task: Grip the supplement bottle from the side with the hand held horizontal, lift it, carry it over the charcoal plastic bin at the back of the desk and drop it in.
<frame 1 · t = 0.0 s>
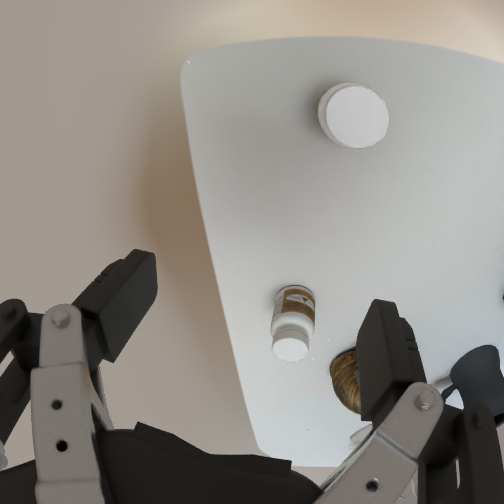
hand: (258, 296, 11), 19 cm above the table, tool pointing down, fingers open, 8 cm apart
ornament: (411, 427, 44), on the table
supplement bottle: (343, 111, 23), on the table
pill bottle: (295, 299, 34), on the table
mug: (466, 367, 35), on the table
seashell: (368, 359, 36), on the table
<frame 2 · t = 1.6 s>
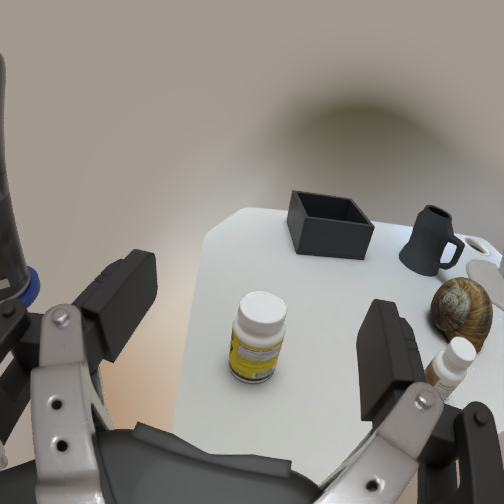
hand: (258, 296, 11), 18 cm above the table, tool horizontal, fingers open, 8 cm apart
ornament: (489, 283, 50), on the table
supplement bottle: (251, 366, 29), on the table
bin: (323, 239, 55), on the table
pill bottle: (426, 394, 27), on the table
mug: (423, 267, 51), on the table
seashell: (452, 331, 36), on the table
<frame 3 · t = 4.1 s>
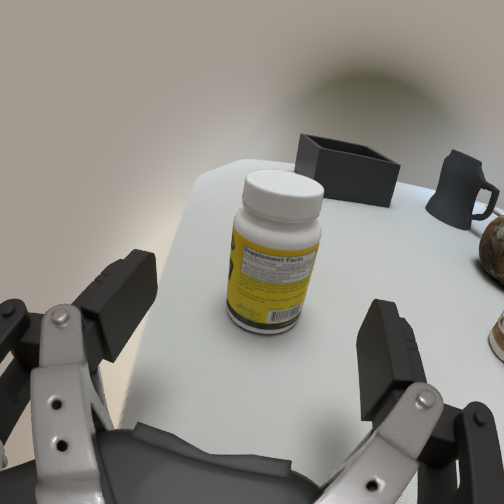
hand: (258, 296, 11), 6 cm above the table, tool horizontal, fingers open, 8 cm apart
supplement bottle: (262, 311, 19), on the table
bin: (338, 187, 45), on the table
mug: (454, 222, 42), on the table
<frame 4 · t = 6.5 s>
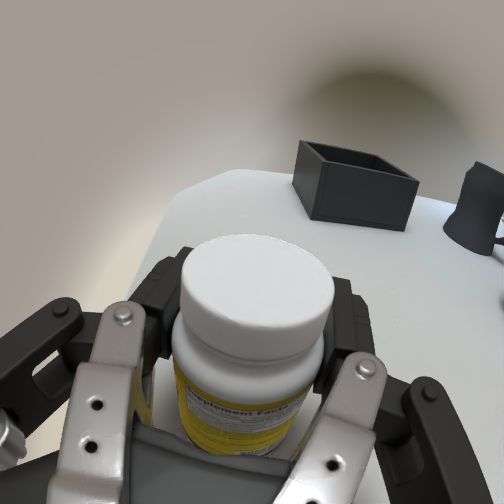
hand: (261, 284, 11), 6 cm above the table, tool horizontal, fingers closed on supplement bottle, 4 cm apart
supplement bottle: (233, 422, 12), on the table, touching gripper
bin: (344, 204, 38), on the table
mug: (474, 245, 35), on the table
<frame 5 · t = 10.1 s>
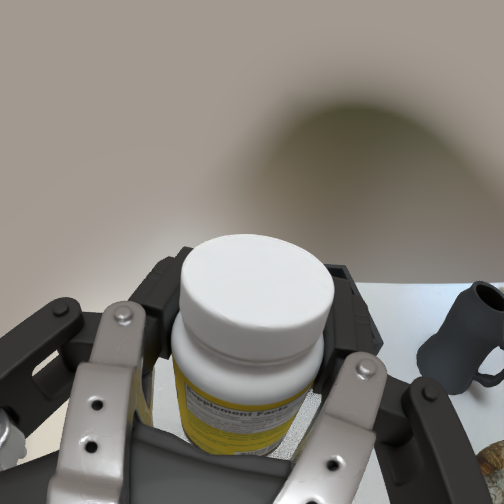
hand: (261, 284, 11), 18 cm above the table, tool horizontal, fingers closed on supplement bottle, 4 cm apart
supplement bottle: (233, 423, 12), point 11 cm above the table, touching gripper
bin: (292, 342, 32), on the table
mug: (451, 374, 28), on the table
when the fingers open (13 cm above the table, at t = 14.1 s): supplement bottle drops 5 cm, resting on bin.
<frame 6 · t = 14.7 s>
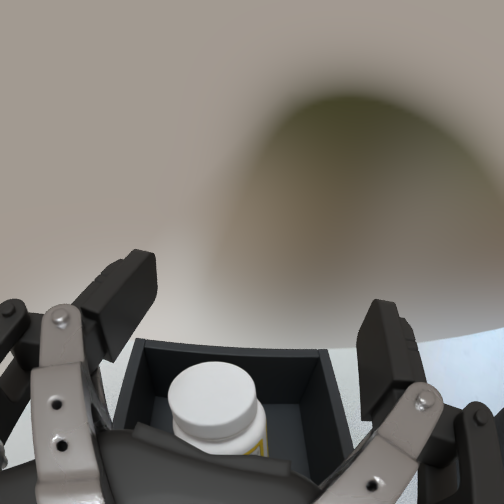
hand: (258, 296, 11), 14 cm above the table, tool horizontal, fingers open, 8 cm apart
supplement bottle: (232, 469, 15), point 1 cm above the table, touching bin
bin: (226, 470, 16), on the table
mug: (475, 491, 12), on the table
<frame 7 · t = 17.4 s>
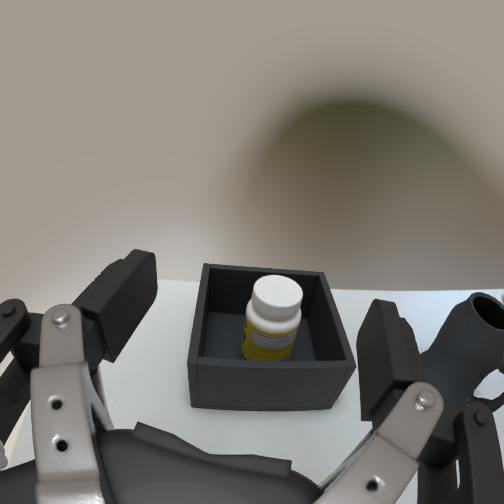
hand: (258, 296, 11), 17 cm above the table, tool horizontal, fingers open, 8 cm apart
supplement bottle: (264, 356, 28), resting on bin
bin: (260, 357, 29), on the table
mug: (443, 396, 25), on the table
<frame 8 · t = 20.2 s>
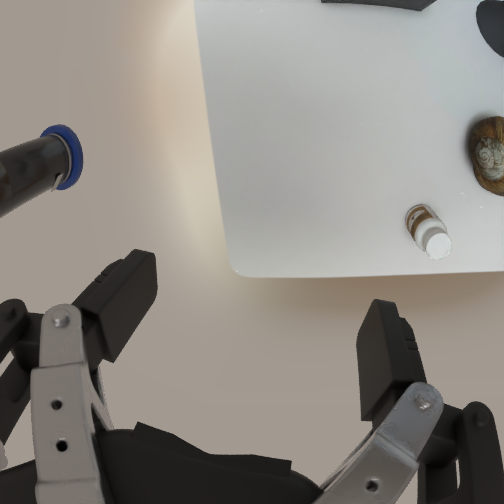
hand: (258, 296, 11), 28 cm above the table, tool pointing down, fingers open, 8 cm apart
pill bottle: (419, 218, 36), on the table
seashell: (488, 153, 29), on the table
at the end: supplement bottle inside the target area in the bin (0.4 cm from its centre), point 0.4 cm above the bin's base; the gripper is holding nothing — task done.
